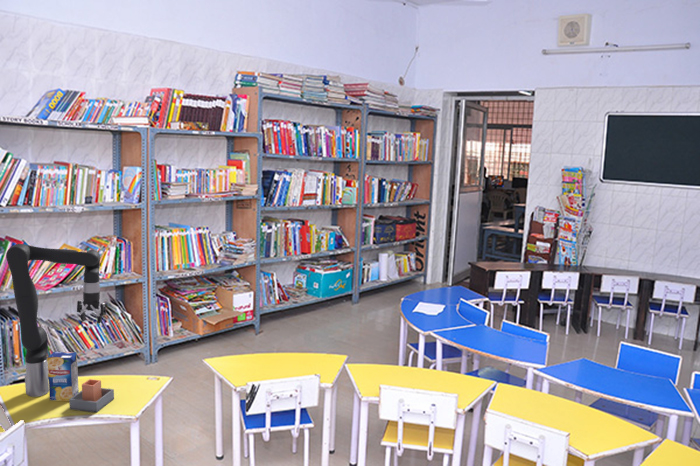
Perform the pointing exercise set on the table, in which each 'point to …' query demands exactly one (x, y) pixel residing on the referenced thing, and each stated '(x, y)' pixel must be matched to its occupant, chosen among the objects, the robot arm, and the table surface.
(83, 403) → the charcoal crate
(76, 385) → the blue food box
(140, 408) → the table surface
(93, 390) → the orange square cup
